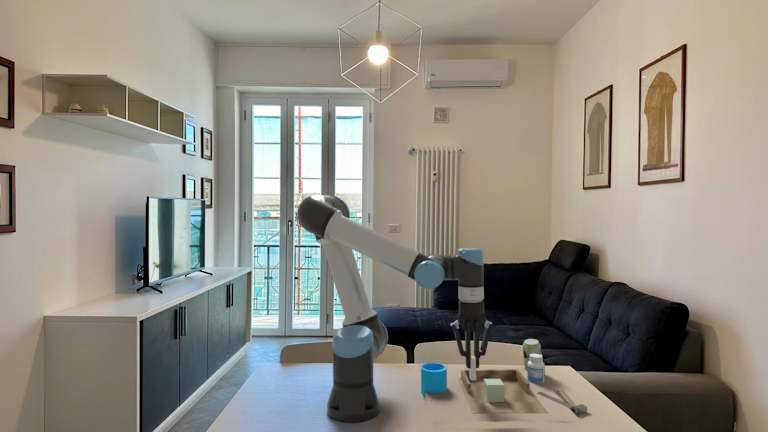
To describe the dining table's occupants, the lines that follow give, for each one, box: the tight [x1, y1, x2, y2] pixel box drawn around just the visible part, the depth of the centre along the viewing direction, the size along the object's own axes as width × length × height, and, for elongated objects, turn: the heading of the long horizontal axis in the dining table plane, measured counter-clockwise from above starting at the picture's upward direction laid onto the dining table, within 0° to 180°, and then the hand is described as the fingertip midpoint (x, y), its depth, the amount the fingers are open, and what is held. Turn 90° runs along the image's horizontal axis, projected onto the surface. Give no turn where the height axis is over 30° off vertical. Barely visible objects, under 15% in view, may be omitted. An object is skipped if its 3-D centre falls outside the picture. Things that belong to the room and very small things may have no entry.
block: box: [484, 379, 504, 402], centre depth 141 cm, size 5×5×5 cm
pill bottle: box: [527, 354, 546, 384], centre depth 155 cm, size 6×5×10 cm
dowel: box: [557, 390, 578, 406], centre depth 141 cm, size 2×12×2 cm, turn 177°
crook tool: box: [537, 391, 588, 416], centre depth 139 cm, size 5×14×2 cm, turn 29°
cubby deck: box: [457, 368, 549, 414], centre depth 144 cm, size 21×26×4 cm
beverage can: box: [522, 338, 542, 372], centre depth 165 cm, size 6×7×12 cm
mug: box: [420, 362, 448, 397], centre depth 151 cm, size 12×8×8 cm
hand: (472, 378), depth 141 cm, fingers closed
